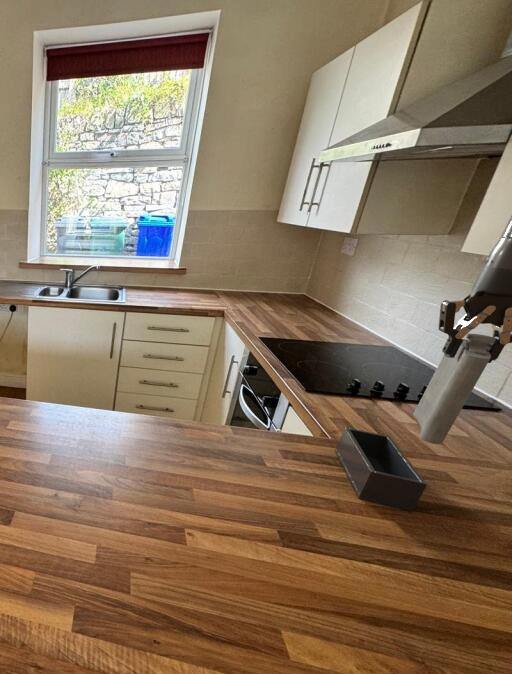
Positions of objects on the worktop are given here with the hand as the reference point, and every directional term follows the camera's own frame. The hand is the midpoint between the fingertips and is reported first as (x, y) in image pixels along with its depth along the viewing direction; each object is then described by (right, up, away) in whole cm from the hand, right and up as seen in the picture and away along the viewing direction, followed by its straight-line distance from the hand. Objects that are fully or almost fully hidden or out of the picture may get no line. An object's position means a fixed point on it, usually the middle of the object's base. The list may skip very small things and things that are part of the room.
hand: (466, 358), depth 76 cm
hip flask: (0, -14, +6) cm, 16 cm away
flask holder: (-6, -26, +14) cm, 30 cm away
